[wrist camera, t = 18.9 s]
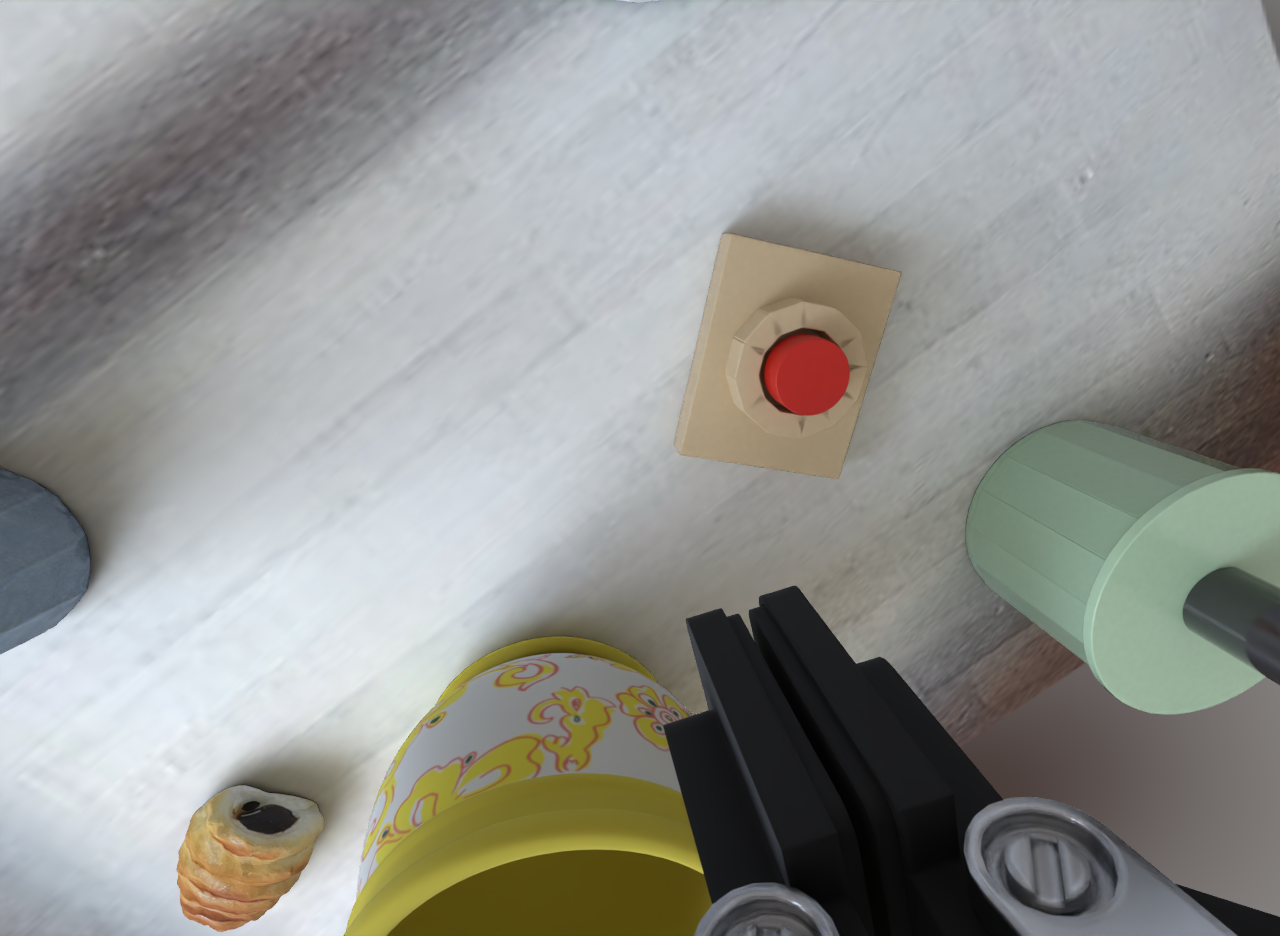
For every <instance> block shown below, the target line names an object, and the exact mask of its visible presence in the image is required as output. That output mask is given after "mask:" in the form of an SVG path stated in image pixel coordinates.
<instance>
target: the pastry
mask: <svg viewBox="0 0 1280 936" xmlns="http://www.w3.org/2000/svg"><path fill="white" fill-rule="evenodd" d="M323 829H324V818H323V816H322V814H321V813H320V812H319V808H318V806H317V804H316V803H314V802H312V801H311V800H308V799H304V798H300V797H297V796H291V795H285V794H276V793H267V792H264V791H262V790H259V789H256V788H253V787H250V786H246V785H240V786H234V787H230V788H227V789H225V790H223V791H221V792H219V793H217V794H216V795H214V796H213V797H212V798H210V799H209V800H208V801H207V802H206V803H205V804H204V805H203V806H202V807H200V808H199V809H198V810H197V811H196V812H195V813H194V815H193V816H192V818H191V820H190V825H189V828H188V831H187V834H186V837H185V840H184V842H183V844H182V846H181V848H180V850H179V861H178V865H177V872H178V880H177V884H178V886H179V888H180V903H181V906H182V911H183V914H184V915H185V916H186V917H187V918H188V919H190V920H194V921H196V922H198V923H201V924H203V925H209V926H210V927H211V928H213V929H215V930H216V931H218V932H223V931H227V930H231V929H236V928H238V927H240V926H243V925H244V924H246V923H248V922H249V921H251V920H254V921H255V920H258V919H259V918H260V917H261V916H262V915H264V914H265V912H266V911H267V910H269V909H271V908H272V907H273V906H274V905H275V904H276V903H277V902H278V900H279V898H280V897H281V895H283V894H285V893H287V892H288V891H289V890H290V889H291V888H292V886H293V885H294V884H295V882H296V881H298V879H299V877H300V874H301V871H302V870H303V869H304V868H305V867H306V865H307V864H308V861H309V859H310V856H311V854H312V851H313V847H314V844H315V842H316V839H317V837H318V835H319V834H320V833H321V832H322V831H323Z"/></svg>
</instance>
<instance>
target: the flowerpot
mask: <svg viewBox="0 0 1280 936" xmlns="http://www.w3.org/2000/svg"><path fill="white" fill-rule="evenodd" d="M690 716H692V715H691V714H690V712H689V711H688V710H687V709H686V708H685V707H684V706H683V705H682V704H681V703H680V702H679V701H678V700H677V699H676V698H675V697H674V696H673V695H672V694H671V693H669V692H668V691H667V690H666V689H665V688H663V687H662V686H660V685H659V684H658V682H657V681H656V679H655V678H654V677H653V676H652V674H651V673H650V672H649V671H648V670H647V669H646V668H645V667H644V666H643V665H641V664H640V663H639V662H638V661H636V660H635V659H634V658H632V657H631V656H629V655H628V654H626V653H624V652H622V651H620V650H618V649H616V648H614V647H612V646H609V645H607V644H604V643H601V642H597V641H593V640H589V639H584V638H577V637H562V636H556V637H542V638H535V639H529V640H525V641H521V642H517V643H514V644H510V645H507V646H505V647H502V648H500V649H498V650H495V651H493V652H491V653H489V654H487V655H486V656H484V657H482V658H480V659H479V660H477V661H476V662H474V663H473V664H471V665H470V666H469V667H467V668H466V669H465V670H464V671H463V672H461V673H460V674H459V675H458V676H457V677H456V678H455V679H454V680H453V681H452V682H451V683H450V684H449V686H448V687H447V688H446V689H445V691H444V692H443V694H442V695H441V696H440V698H439V700H438V701H437V703H436V705H435V707H433V708H432V709H431V711H430V712H429V713H428V714H427V715H426V716H425V717H424V718H423V719H422V720H421V721H420V722H419V724H418V725H417V726H416V727H415V728H414V730H413V731H412V732H411V734H410V735H409V736H408V738H407V739H406V741H405V742H404V744H403V745H402V747H401V748H400V750H399V751H398V753H397V755H396V756H395V758H394V760H393V762H392V764H391V765H390V767H389V769H388V771H387V774H386V776H385V778H384V780H383V783H382V785H381V787H380V790H379V792H378V795H377V798H376V801H375V804H374V807H373V810H372V813H371V817H370V820H369V824H368V828H367V832H366V837H365V841H364V846H363V850H362V856H361V862H360V869H359V877H358V886H357V897H356V902H355V904H354V906H353V909H352V912H351V915H350V918H349V920H348V924H347V929H346V932H345V934H344V936H694V935H695V932H696V930H697V927H698V924H699V922H700V920H701V919H702V918H703V916H704V915H705V914H706V913H707V911H708V910H709V909H710V907H711V906H712V902H711V898H710V895H709V891H708V888H707V884H706V880H705V877H704V873H703V869H702V866H701V862H700V858H699V855H698V851H697V848H696V844H695V840H694V837H693V833H692V829H691V826H690V822H689V819H688V815H687V811H686V808H685V804H684V800H683V797H682V793H681V790H680V786H679V782H678V779H677V775H676V771H675V768H674V764H673V761H672V757H671V753H670V750H669V746H668V742H667V739H666V735H665V732H664V728H663V725H665V724H668V723H671V722H674V721H677V720H681V719H684V718H687V717H690Z"/></svg>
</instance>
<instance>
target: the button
mask: <svg viewBox="0 0 1280 936" xmlns="http://www.w3.org/2000/svg"><path fill="white" fill-rule="evenodd" d="M849 378H850V368H849V363H848V360H847V357H846V355H845V354H844V352H843V351H842V350H841V348H840V347H838V346H837V345H836V344H834V343H833V342H831V341H828V340H826V339H823V338H820V337H818V336H815V335H812V334H795V335H792V336H789V337H787V338H785V339H784V340H782V341H781V342H779V343H778V344H777V345H776V346H775V347H774V348H773V350H772V351H771V353H770V354H769V356H768V358H767V361H766V364H765V368H764V380H765V385H766V388H767V390H768V392H769V393H770V395H771V396H772V397H773V398H774V399H775V400H776V401H777V402H779V403H780V404H782V405H783V406H784V407H786V408H787V409H789V410H790V411H792V412H794V413H796V414H800V415H806V416H811V415H817V414H820V413H823V412H825V411H827V410H829V409H831V408H832V407H833V406H834V405H836V404H837V403H838V402H839V400H840V399H841V398H842V396H843V395H844V393H845V391H846V389H847V386H848V383H849Z"/></svg>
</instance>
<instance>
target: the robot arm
mask: <svg viewBox="0 0 1280 936" xmlns="http://www.w3.org/2000/svg"><path fill="white" fill-rule="evenodd" d="M618 1H627V2H635V3H641V2H651V1H660V0H618ZM759 605H760V607H757V608H754V609H751V610H749V618H750V623H751V627H752V632H753V636H754V640H753V638H752V636H751V634H750V633H749V631H748V629H747V627H746V625H745V623H744V622H743V620H742V618H741V616H740V615H739V614H735V615H731V616H728V617H726V615H725V613H724V611H723V610H722V609H721V608H720V609H716V610H713V611H710V612H707V613H703V614H700V615H697V616H693V617H690V618H687V619H686V624H687V628H688V632H689V636H690V640H691V644H692V647H693V651H694V655H695V659H696V663H697V666H698V670H699V674H700V678H701V682H702V685H703V689H704V693H705V697H706V701H707V704H708V708H709V711H706V712H703V713H700V714H696V715H693V716H690V717H687V718H684V719H681V720H677V721H674V722H671V723H668V724H665V725H663V728H664V732H665V735H666V739H667V742H668V746H669V750H670V753H671V757H672V761H673V764H674V768H675V771H676V775H677V779H678V782H679V786H680V790H681V793H682V797H683V800H684V804H685V808H686V811H687V815H688V819H689V822H690V826H691V829H692V833H693V837H694V840H695V844H696V848H697V851H698V855H699V858H700V862H701V866H702V869H703V873H704V877H705V880H706V884H707V888H708V891H709V895H710V898H711V902H712V906H711V907H710V909H709V910H708V911H707V913H706V914H705V915H704V916H703V918H702V919H701V920H700V922H699V924H698V927H697V930H696V932H695V935H694V936H1280V917H1278V916H1275V915H1272V914H1268V913H1265V912H1262V911H1259V910H1256V909H1253V908H1250V907H1247V906H1243V905H1240V904H1237V903H1233V902H1231V901H1228V900H1225V899H1221V898H1218V897H1215V896H1212V895H1209V894H1206V893H1202V892H1199V891H1196V890H1193V889H1190V888H1187V887H1184V886H1181V885H1177V884H1174V883H1173V882H1172V881H1171V880H1169V879H1168V878H1167V877H1166V876H1165V875H1163V874H1162V873H1161V872H1160V871H1159V870H1158V869H1156V868H1155V867H1154V866H1153V865H1151V864H1150V863H1149V862H1148V861H1147V860H1145V859H1144V858H1143V857H1142V856H1141V855H1140V854H1138V853H1137V852H1136V851H1135V850H1133V849H1132V848H1131V847H1130V846H1128V845H1127V844H1126V843H1125V842H1124V841H1123V840H1121V839H1120V838H1119V837H1118V836H1117V835H1115V834H1114V833H1113V832H1112V831H1110V830H1109V829H1108V828H1107V827H1106V826H1104V825H1103V824H1101V823H1100V822H1098V821H1097V820H1095V819H1094V818H1092V817H1091V816H1089V815H1087V814H1086V813H1085V812H1083V811H1081V810H1078V809H1076V808H1073V807H1071V806H1068V805H1065V804H1063V803H1061V802H1058V801H1053V800H1047V799H1042V798H1036V797H1021V798H1020V797H1019V798H1008V799H1005V800H1003V799H1002V798H1001V796H1000V795H999V794H998V793H997V792H996V790H995V789H994V788H993V787H992V786H991V785H990V783H989V782H988V781H987V780H986V778H985V777H984V776H983V775H982V774H981V773H980V771H979V770H978V769H977V768H976V766H975V765H974V764H973V763H972V762H971V760H970V759H969V758H968V757H967V756H966V754H965V753H964V752H963V751H962V750H961V748H960V747H959V746H958V745H957V744H956V742H955V741H954V740H953V739H952V738H951V736H950V735H949V734H948V733H947V732H946V730H945V729H944V728H943V727H942V726H941V724H940V723H939V722H938V721H937V720H936V718H935V717H934V716H933V715H932V714H931V712H930V711H929V710H928V709H927V707H926V706H925V705H924V704H923V703H922V701H921V700H920V699H919V698H918V697H917V695H916V694H915V693H914V692H913V691H912V689H911V688H910V687H909V686H908V685H907V683H906V682H905V681H904V680H903V679H902V677H901V676H900V675H899V674H898V673H897V671H896V670H895V669H894V668H893V667H892V665H890V664H889V663H888V662H887V661H886V660H885V659H884V658H881V657H877V658H874V659H871V660H868V661H865V662H861V663H858V664H856V663H855V662H854V661H853V659H852V658H851V657H850V655H849V654H848V653H847V652H846V650H845V649H844V648H843V646H842V645H841V644H840V642H839V641H838V640H837V638H836V637H835V636H834V634H833V633H832V632H831V630H830V629H829V628H828V626H827V625H826V624H825V622H824V621H823V620H822V618H821V617H820V616H819V614H818V613H817V612H816V610H815V609H814V608H813V606H812V605H811V604H810V602H809V601H808V600H807V598H806V597H805V596H804V594H803V593H802V592H801V590H800V589H799V588H798V587H797V586H791V587H788V588H785V589H782V590H778V591H775V592H772V593H769V594H765V595H762V596H760V597H759ZM754 641H755V642H754Z"/></svg>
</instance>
